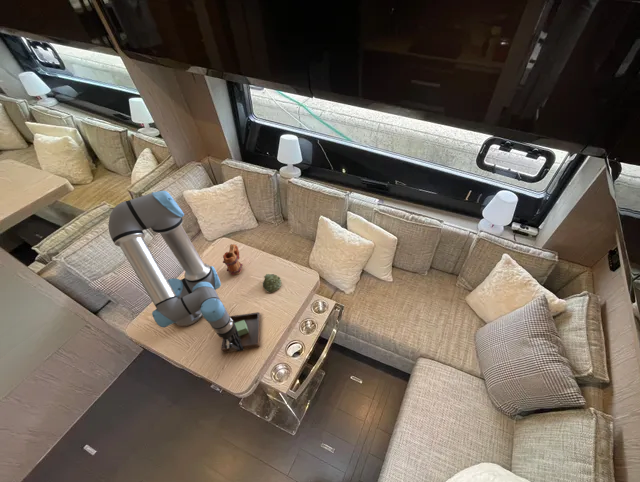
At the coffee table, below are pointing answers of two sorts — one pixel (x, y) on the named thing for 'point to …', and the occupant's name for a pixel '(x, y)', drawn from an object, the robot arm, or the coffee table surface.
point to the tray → (253, 328)
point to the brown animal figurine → (232, 260)
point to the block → (241, 327)
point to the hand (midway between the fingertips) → (240, 349)
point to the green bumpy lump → (271, 282)
